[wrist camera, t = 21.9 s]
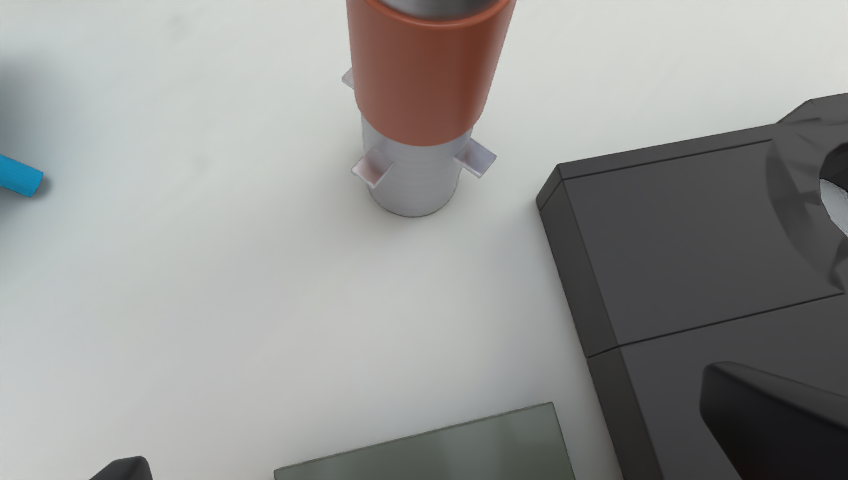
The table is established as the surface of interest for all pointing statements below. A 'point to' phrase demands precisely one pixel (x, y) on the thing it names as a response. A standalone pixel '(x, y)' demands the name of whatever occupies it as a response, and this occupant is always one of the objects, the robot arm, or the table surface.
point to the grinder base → (703, 276)
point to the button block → (456, 453)
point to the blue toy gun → (19, 176)
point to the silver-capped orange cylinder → (422, 94)
